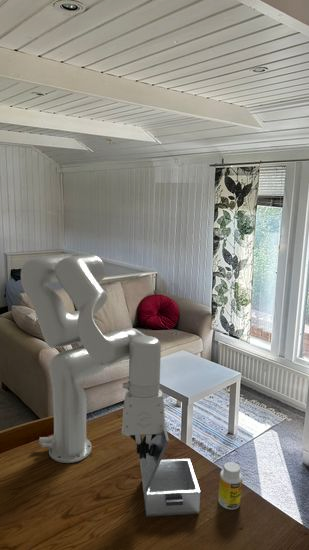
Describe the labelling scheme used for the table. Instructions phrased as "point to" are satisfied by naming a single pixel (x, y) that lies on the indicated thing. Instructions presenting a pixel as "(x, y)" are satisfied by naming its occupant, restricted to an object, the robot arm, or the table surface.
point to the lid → (153, 458)
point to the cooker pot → (173, 489)
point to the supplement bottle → (230, 486)
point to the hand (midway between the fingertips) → (142, 455)
